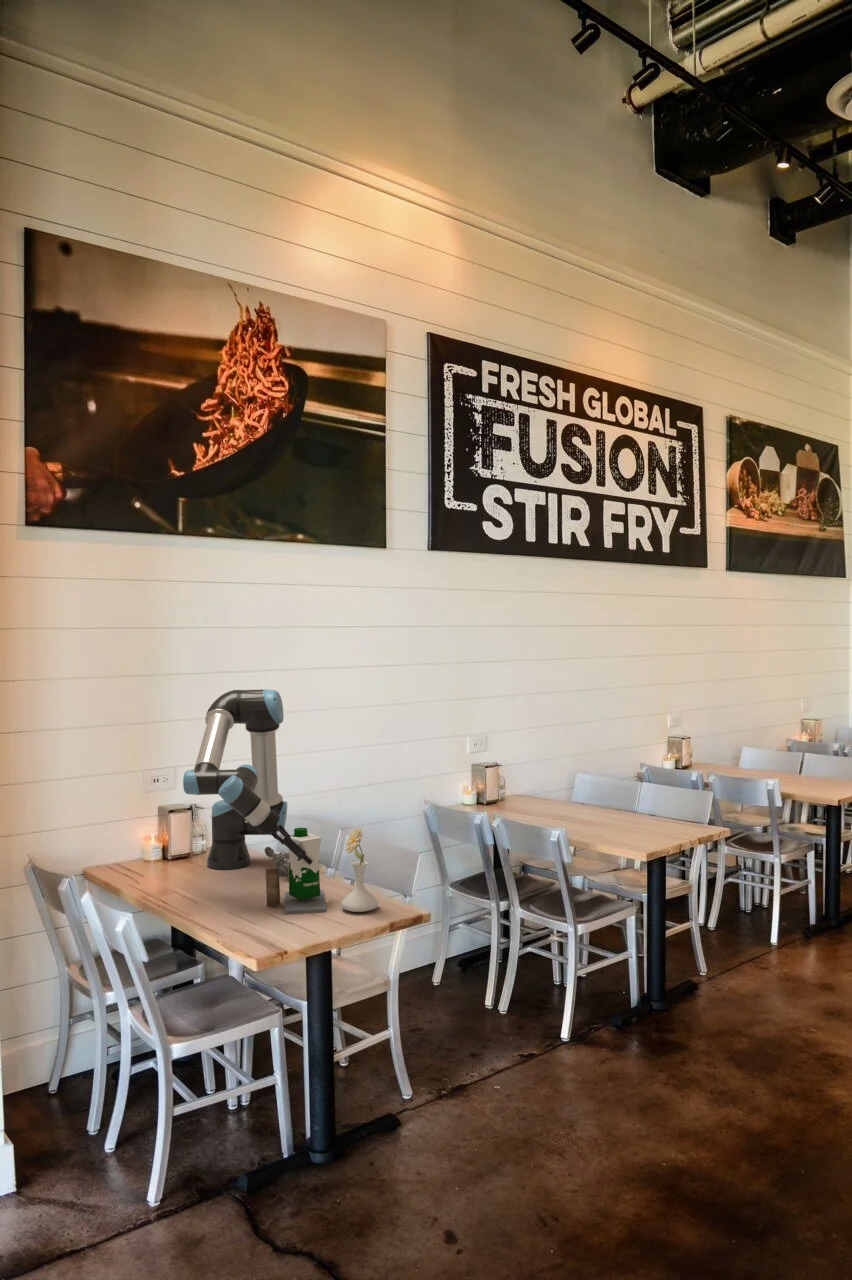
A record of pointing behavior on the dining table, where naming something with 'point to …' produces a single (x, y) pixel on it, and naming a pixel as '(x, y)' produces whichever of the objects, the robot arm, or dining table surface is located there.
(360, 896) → the flower in vase
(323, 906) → the slate mat
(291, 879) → the soya milk
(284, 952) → the dining table surface
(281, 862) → the spaceship
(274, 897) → the wooden pepper mill
